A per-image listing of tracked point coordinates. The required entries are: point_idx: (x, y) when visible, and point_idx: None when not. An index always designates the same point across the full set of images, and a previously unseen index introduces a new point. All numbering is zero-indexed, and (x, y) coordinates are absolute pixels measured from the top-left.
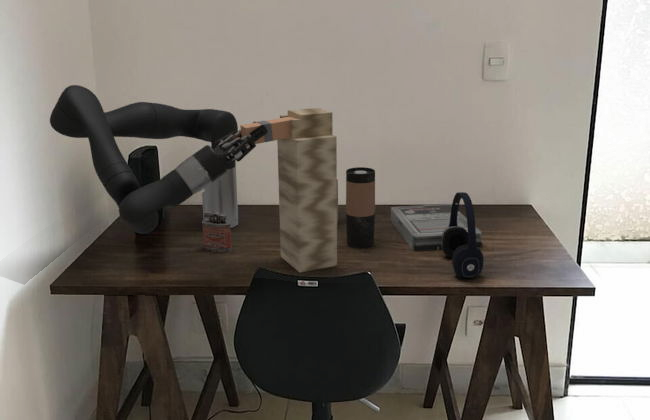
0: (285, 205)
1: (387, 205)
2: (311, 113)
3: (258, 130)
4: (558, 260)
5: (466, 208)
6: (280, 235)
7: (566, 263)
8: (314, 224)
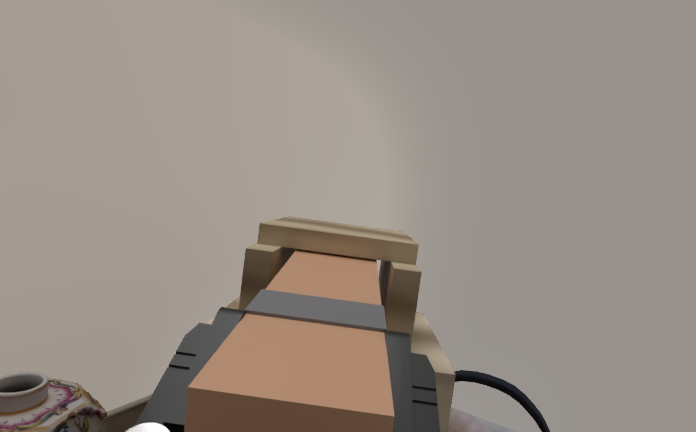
0: None
1: (122, 411)
2: (393, 236)
3: (423, 393)
4: (475, 422)
5: (530, 405)
6: None
7: (487, 423)
8: None
